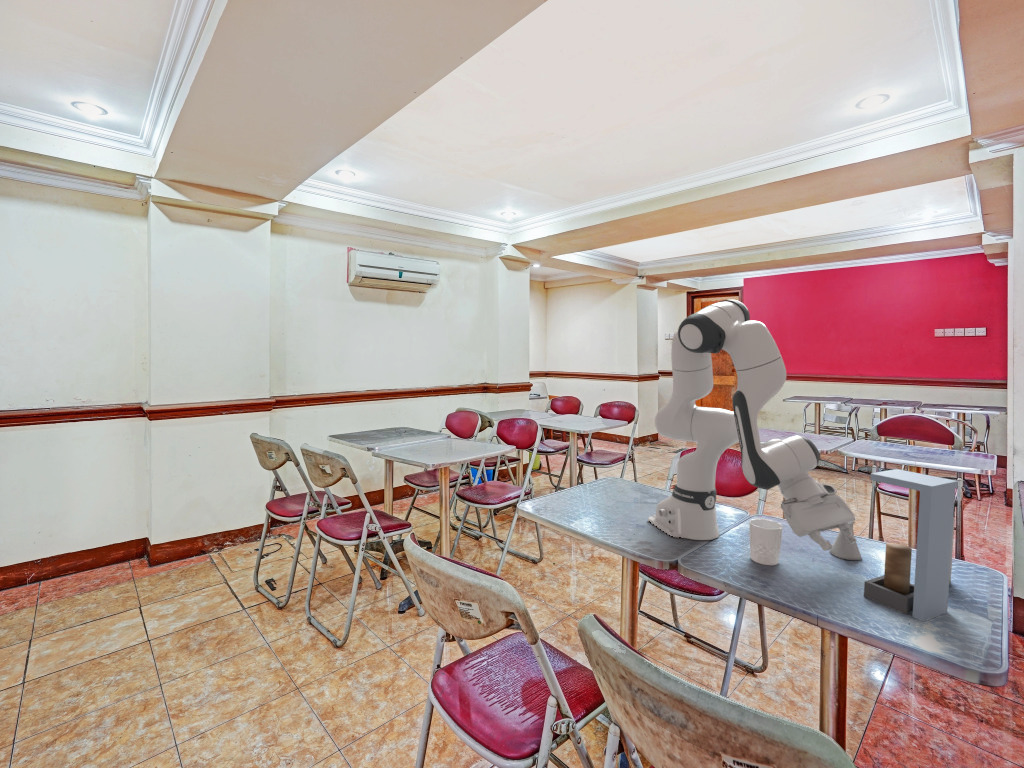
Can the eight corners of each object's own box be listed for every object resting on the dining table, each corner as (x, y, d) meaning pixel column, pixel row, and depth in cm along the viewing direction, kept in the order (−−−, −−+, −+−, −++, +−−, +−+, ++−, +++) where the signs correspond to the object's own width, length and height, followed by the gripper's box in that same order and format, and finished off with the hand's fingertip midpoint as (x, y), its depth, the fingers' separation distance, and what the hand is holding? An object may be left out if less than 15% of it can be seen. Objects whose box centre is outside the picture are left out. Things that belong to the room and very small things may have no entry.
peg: (878, 596, 110) (881, 544, 109) (890, 592, 112) (893, 541, 111) (901, 605, 106) (904, 552, 105) (913, 601, 108) (916, 548, 107)
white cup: (743, 560, 130) (745, 524, 129) (753, 551, 136) (754, 516, 135) (776, 569, 125) (777, 531, 124) (784, 559, 131) (786, 523, 130)
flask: (851, 550, 137) (853, 515, 136) (867, 561, 130) (869, 525, 129) (824, 549, 137) (825, 515, 137) (839, 560, 130) (841, 524, 129)
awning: (864, 596, 111) (870, 473, 109) (890, 587, 115) (896, 468, 113) (923, 621, 101) (932, 486, 99) (949, 610, 105) (958, 481, 103)
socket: (863, 596, 111) (864, 581, 111) (885, 588, 115) (886, 574, 114) (906, 614, 104) (907, 598, 103) (928, 606, 107) (929, 590, 107)
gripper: (786, 495, 122) (823, 547, 113) (837, 485, 130) (875, 533, 122) (769, 507, 126) (804, 558, 118) (820, 497, 135) (856, 544, 126)
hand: (841, 546), depth 120 cm, fingers open, 8 cm apart
